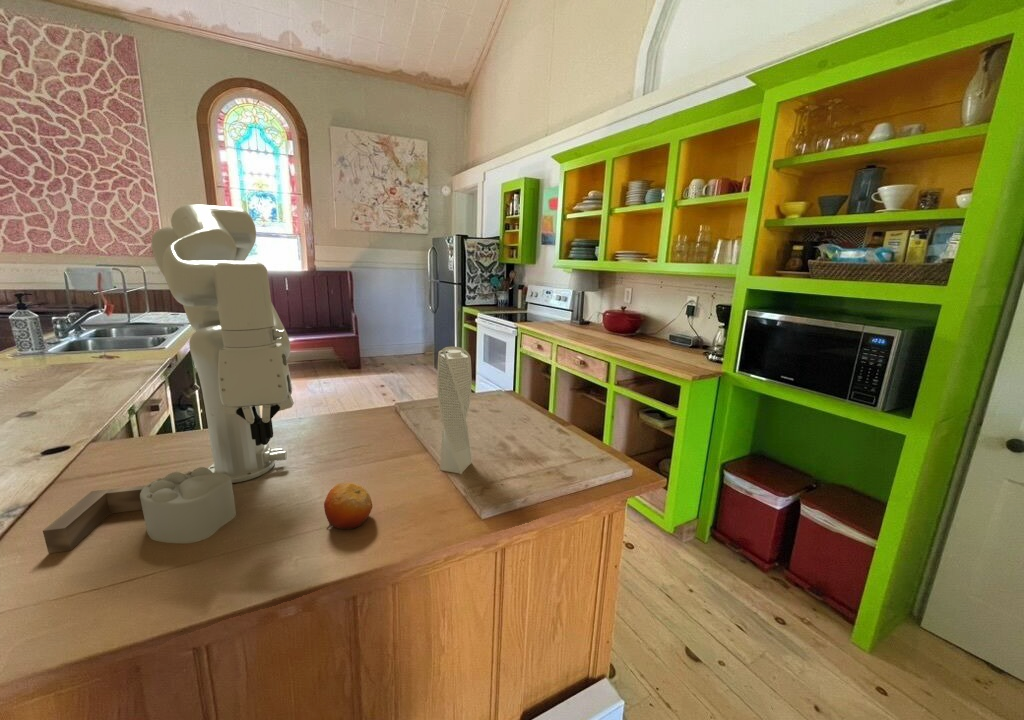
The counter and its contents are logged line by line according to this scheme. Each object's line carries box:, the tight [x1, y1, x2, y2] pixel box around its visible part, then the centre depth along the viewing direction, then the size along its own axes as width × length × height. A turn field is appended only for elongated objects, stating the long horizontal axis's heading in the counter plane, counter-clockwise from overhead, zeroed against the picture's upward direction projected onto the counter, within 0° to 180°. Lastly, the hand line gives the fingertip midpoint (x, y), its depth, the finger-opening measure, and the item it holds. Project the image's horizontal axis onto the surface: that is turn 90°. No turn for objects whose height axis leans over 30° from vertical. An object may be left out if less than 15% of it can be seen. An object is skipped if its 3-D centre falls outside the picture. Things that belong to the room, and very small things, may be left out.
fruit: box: [323, 482, 373, 530], centre depth 76 cm, size 8×8×8 cm
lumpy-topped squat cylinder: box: [140, 466, 237, 544], centre depth 75 cm, size 10×13×9 cm
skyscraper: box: [436, 346, 473, 475], centre depth 94 cm, size 8×8×28 cm
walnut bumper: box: [42, 484, 147, 554], centre depth 75 cm, size 14×12×4 cm
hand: (263, 442), depth 76 cm, fingers closed
